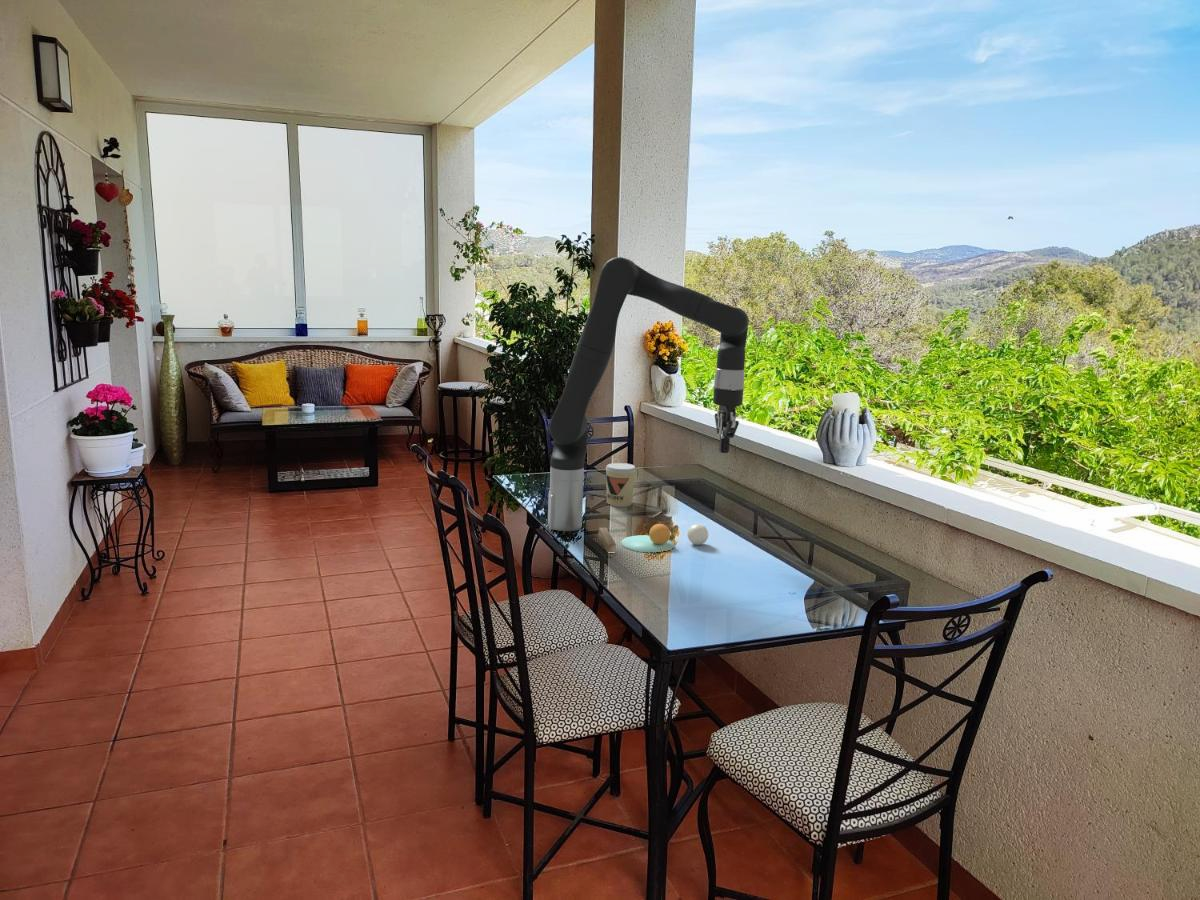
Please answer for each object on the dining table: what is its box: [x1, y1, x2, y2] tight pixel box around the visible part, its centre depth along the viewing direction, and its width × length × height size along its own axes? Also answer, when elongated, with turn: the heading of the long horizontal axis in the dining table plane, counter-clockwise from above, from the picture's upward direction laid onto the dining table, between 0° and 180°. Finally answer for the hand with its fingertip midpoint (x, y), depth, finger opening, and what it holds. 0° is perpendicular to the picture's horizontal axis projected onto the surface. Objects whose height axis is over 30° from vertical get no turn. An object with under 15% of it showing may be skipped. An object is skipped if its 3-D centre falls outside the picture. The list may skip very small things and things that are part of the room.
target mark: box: [620, 534, 675, 554], centre depth 208 cm, size 14×14×1 cm
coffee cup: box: [605, 462, 637, 508], centre depth 245 cm, size 9×9×12 cm
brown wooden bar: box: [598, 527, 617, 553], centre depth 206 cm, size 2×14×2 cm, turn 10°
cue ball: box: [686, 523, 709, 546], centre depth 209 cm, size 6×6×6 cm
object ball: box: [648, 523, 671, 545], centre depth 208 cm, size 6×6×6 cm
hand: (723, 452), depth 206 cm, fingers closed
